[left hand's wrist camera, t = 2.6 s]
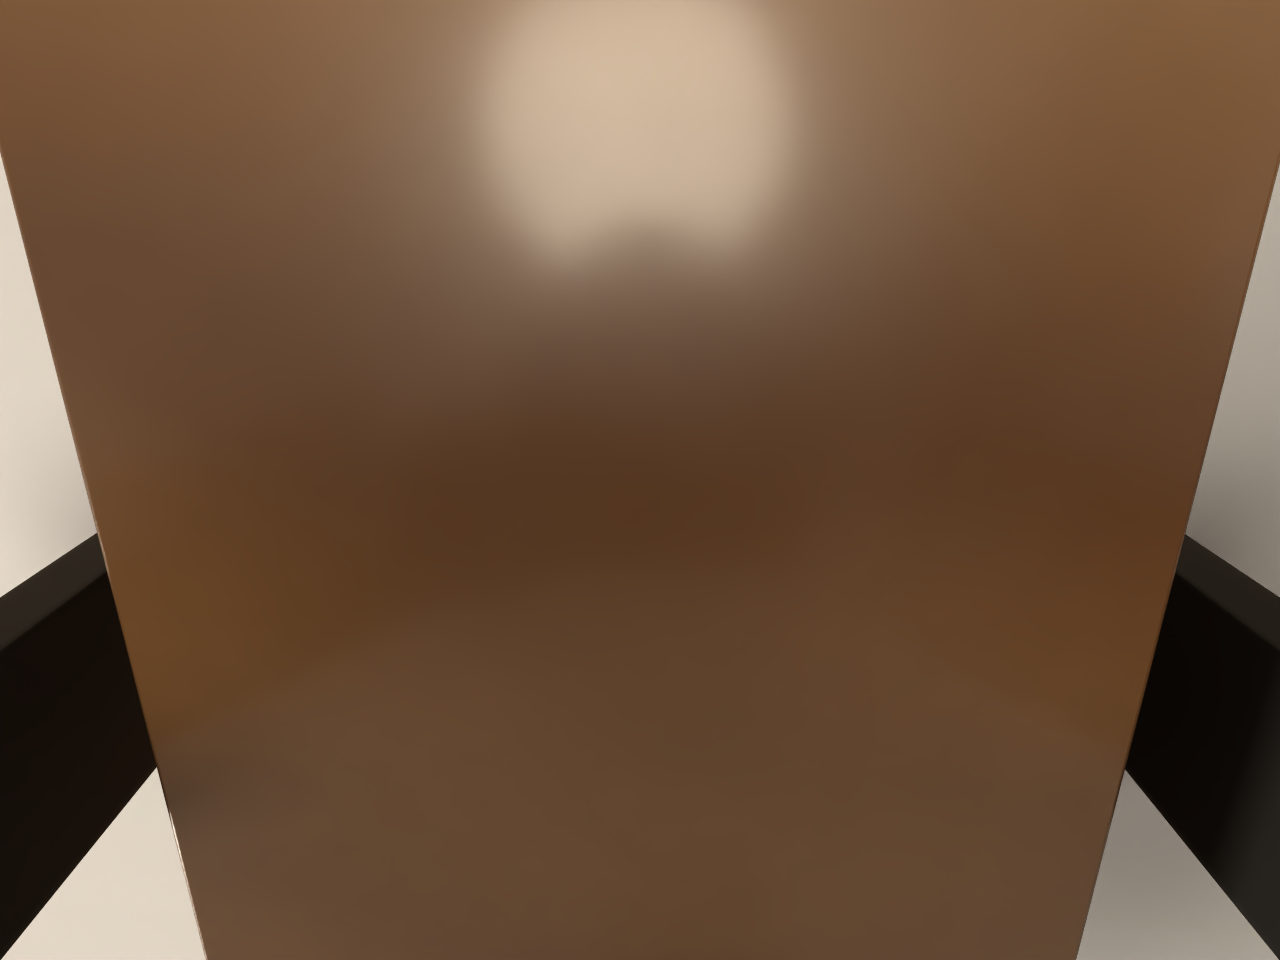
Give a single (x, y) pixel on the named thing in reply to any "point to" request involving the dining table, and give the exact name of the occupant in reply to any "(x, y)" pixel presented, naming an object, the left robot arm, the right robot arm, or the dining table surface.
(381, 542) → the wide beam
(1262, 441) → the dining table surface
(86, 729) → the left robot arm
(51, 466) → the dining table surface
